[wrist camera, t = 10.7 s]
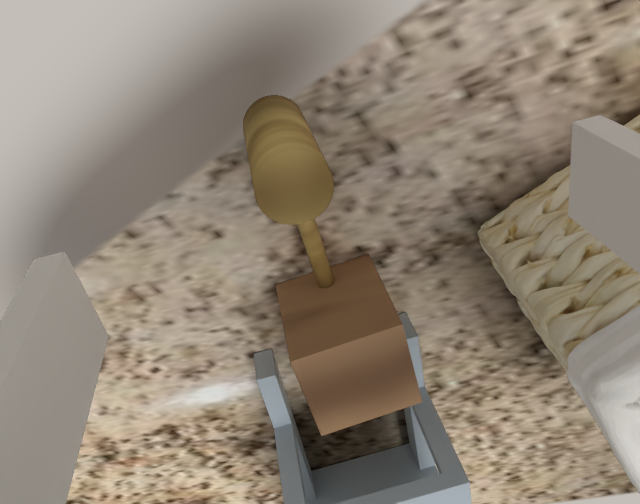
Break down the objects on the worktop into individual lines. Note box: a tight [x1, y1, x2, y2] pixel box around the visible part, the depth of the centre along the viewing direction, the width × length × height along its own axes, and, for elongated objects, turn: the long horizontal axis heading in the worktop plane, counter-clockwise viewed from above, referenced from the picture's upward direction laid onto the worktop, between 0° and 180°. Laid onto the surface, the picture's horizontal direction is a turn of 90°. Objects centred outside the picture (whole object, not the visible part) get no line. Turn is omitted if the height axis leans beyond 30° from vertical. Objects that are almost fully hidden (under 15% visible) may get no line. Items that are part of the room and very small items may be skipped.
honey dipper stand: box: [243, 95, 422, 436], centre depth 29 cm, size 17×6×8 cm, turn 16°
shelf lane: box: [254, 313, 471, 504], centre depth 36 cm, size 14×10×10 cm
